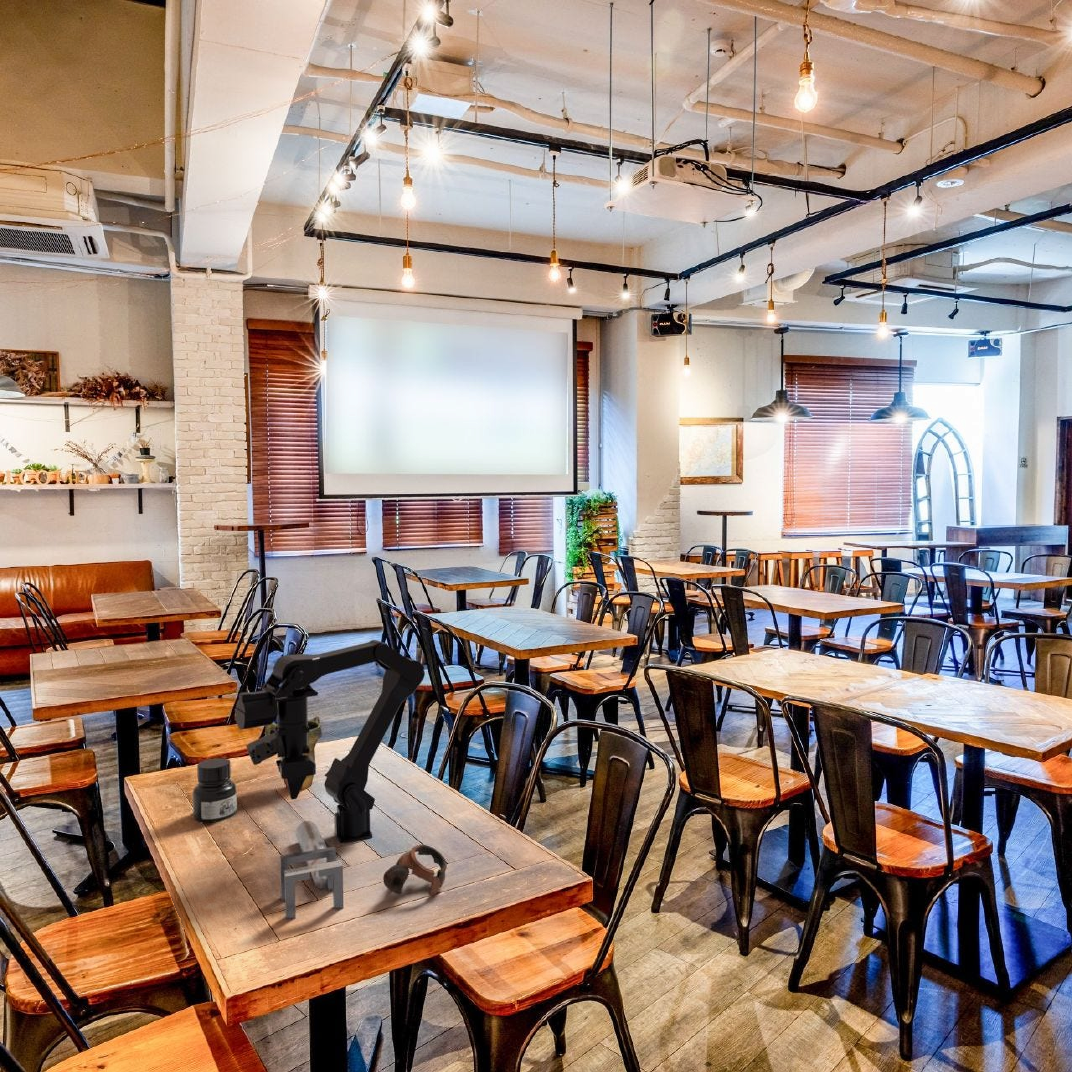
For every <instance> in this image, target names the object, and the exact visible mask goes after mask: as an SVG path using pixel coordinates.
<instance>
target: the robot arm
mask: <svg viewBox="0 0 1072 1072" xmlns="http://www.w3.org/2000/svg"><path fill="white" fill-rule="evenodd" d="M372 663H376V664H377V665H378V666H379V667H381V668H382V669H383V670H385V672H384V674H383V678H382V686H381V687H382V688H381V694H380V695H379V697H378V699H377V701H376V702H375V704H374V707H372V710H371V711H370V713H369V716H368V717H367V719H366V721H365V723H364V724H363V727H362V728H361V729H360V732H359V734H358V736H357V738H356V739H355V741H354V744H353V745H352V747H351V749H350V751H349V752H348V754H347V755H346V756H345V757H343V758H342V759H341V760H340V759H339V758H337V757H335V758H334V759H333V761H332V763H331V764H330V768H329V770H328V771H327V772H326V773H325V774H324V777H326V778H325V780H324V788H325V792H326V794H328V795H329V796H330V797H331V798H332V799H333V801H334V803H336V804H337V805H336V812H335V813H334V814H333V815H334V816H333V817H334V824H333V825H334V834H335V836H336V838H338V840H339V842H340V843H341V844H342V843H348V842H354V841H359V840H365V839H371V838H373V832H371V810H373V808H374V805H375V801H376V799H375V797H374V796H372V795H371V794H369V793H368V792H367V791H366V790H365V789H366V786H367V784H368V779H369V768H370V763H371V762H372V760H373V758H374V756H375V754H376V753H377V751H378V749H379V747H380V745H381V744H382V742H383V739H384V737H385V736H386V733H387V732H388V729H389V728H390V726H391V724H392V722H393V720H394V718H395V716H396V715H397V713H398V711H399V708H401V705H402V703H404V702H405V700H407V699H408V698H409V697H410V696H412V695H413V694H414V693H415V692H416V690H417V689H418V688H419V687H420V685H421V684H422V682H423V680H424V678H425V677H426V675H425V674H426V672H425V669H424V666H423V664H422V663H421V662H420V661H418V660H415V659H413V658H410V657H406V656H404V655H403V654H401V653H399V652H398V651H396V650H395V649H393V648H392V647H390V646H389V645H388V644H387V643H386V642H383V641H380V640H377V639H372V640H370V641H367V642H364V643H359V644H356V645H352V646H347V647H343V648H339V649H334V650H331V651H326V652H322V653H317V654H302V653H301V654H285V655H282V656H280V657H278V658H277V660H276V661H275V663H274V665H273V668H272V672H271V674H270V675H269V677H268V678H267V679H266V682H265V683H264V684H263V686H262V687H261V690H258V691H252V692H239V694H238V700H237V702H236V706H235V709H234V714H235V717H234V718H235V722H236V725H237V727H238V729H239V730H240V731H241V730H243V731H244V730H248V729H254V728H259V727H260V728H261V727H266V726H267V725H271V724H272V723H275V722H276V721H277V723H275V724H276V726H275V733H272V734H270V735H267V736H266V735H265V736H263V737H260V738H258V739H256V740H254V741H251V742H249V743H248V744H247V745H246V750H247V752H248V756H249V757H250V759H251V762H252V765H254V766H257V765H260V764H261V763H262V762H263V761H266V760H268V759H270V758H272V757H274V756H276V755H277V758H279V759H278V760H276V761H275V763H276V766H277V769H278V771H279V774H280V777H281V779H286V780H287V784H288V788H289V789H288V788H287V789H288V792H289V796H290V799H291V800H296V799H298V797H299V794H300V792H301V788H302V785H303V783H304V781H305V779H306V776H312V775H314V776H315V775H317V768H316V767H317V766H316V765H317V764H316V761H315V762H314V760H313V759H312V758H311V757H310V756H309V755H303V754H305V753H310V748H309V746H308V732H309V726H308V721H309V720H308V717H309V716H308V712H309V711H308V698H309V697H310V698H311V697H317V696H318V695H319V692H318V691H316V690H315V689H314V688H313V687H312V686H311V685H312V684H313V683H316V682H317V681H318V680H320V679H322V677H324V676H326V675H330V674H333V673H336V672H341V671H346V670H349V669H352V668H353V669H354V668H357V667H360V666H364V665H368V664H372Z"/></svg>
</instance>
